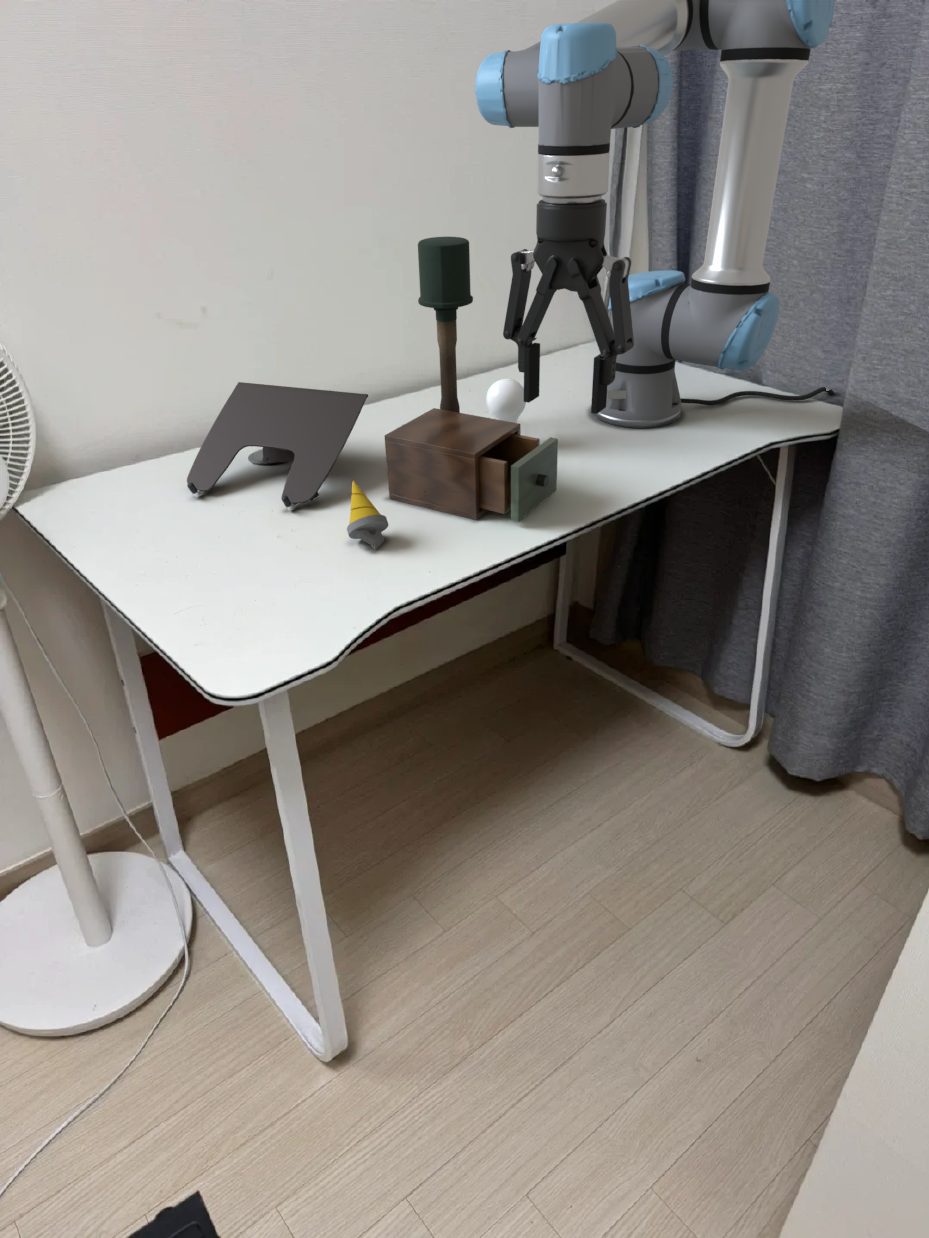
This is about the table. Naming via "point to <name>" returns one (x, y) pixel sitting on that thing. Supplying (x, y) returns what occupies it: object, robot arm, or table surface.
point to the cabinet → (442, 459)
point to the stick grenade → (445, 301)
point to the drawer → (517, 475)
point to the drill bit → (365, 519)
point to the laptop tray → (279, 435)
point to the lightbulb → (506, 400)
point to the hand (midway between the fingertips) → (564, 404)
